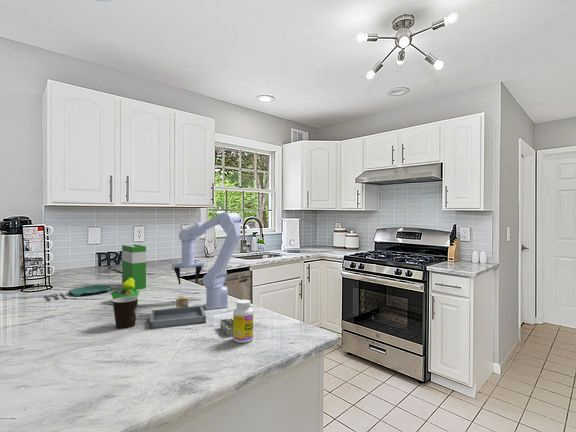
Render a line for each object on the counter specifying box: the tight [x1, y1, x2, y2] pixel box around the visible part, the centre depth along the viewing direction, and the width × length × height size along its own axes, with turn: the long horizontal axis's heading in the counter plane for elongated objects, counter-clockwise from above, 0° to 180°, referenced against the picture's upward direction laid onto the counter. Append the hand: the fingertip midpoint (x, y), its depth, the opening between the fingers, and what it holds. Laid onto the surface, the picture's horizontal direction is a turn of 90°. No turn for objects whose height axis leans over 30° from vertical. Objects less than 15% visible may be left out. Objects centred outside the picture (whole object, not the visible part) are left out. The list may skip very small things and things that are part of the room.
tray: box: [149, 305, 207, 330], centre depth 131 cm, size 20×16×2 cm
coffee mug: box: [112, 297, 139, 330], centre depth 124 cm, size 12×9×10 cm
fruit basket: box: [110, 278, 140, 301], centre depth 158 cm, size 11×9×11 cm
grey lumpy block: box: [219, 318, 233, 337], centre depth 118 cm, size 11×8×4 cm
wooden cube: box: [175, 295, 189, 308], centre depth 146 cm, size 5×5×5 cm
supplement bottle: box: [232, 299, 254, 344], centre depth 109 cm, size 7×7×13 cm
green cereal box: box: [121, 244, 147, 291], centre depth 191 cm, size 18×7×24 cm, turn 43°
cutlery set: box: [43, 284, 112, 302], centre depth 174 cm, size 20×30×2 cm, turn 133°
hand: (188, 283), depth 156 cm, fingers open, 7 cm apart
